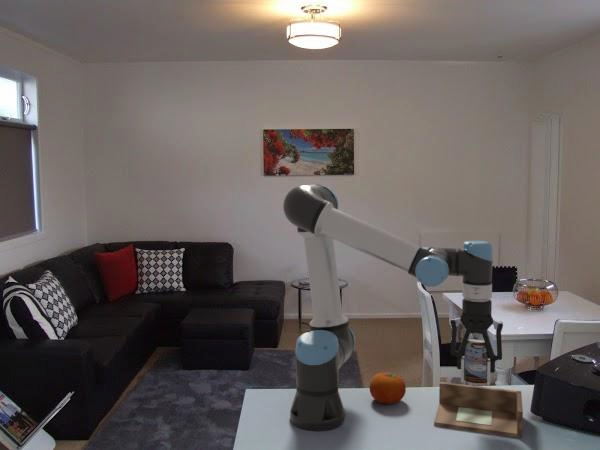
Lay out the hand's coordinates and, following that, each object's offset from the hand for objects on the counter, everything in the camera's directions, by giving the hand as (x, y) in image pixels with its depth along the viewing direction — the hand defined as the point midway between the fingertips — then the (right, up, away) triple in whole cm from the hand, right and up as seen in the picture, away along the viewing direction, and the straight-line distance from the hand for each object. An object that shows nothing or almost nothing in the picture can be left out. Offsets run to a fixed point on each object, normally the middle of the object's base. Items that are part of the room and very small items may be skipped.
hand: (475, 381), depth 152 cm
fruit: (-22, -10, +14) cm, 28 cm away
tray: (+1, -11, +1) cm, 11 cm away
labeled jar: (0, -1, 0) cm, 1 cm away
